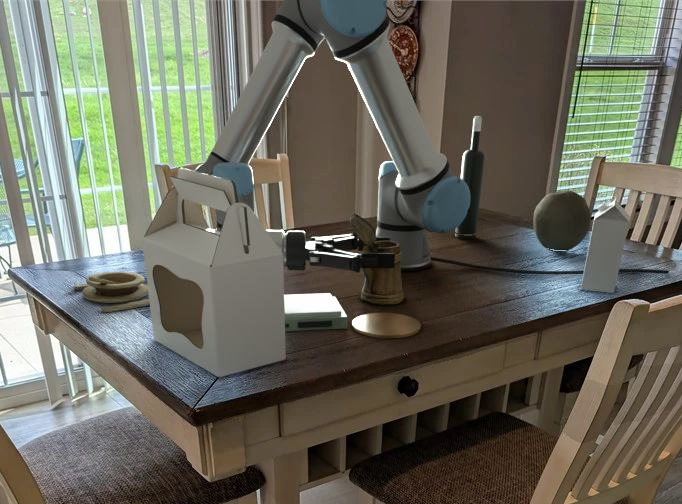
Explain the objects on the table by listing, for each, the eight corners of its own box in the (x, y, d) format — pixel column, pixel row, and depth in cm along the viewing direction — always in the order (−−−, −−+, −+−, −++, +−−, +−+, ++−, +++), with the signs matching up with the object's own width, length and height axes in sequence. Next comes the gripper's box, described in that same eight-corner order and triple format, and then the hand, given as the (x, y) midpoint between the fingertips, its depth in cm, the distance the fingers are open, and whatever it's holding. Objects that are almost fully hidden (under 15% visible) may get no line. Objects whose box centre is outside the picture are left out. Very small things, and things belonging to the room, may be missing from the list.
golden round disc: (410, 314, 144) (410, 311, 144) (429, 336, 133) (429, 333, 133) (345, 317, 142) (345, 314, 141) (360, 340, 131) (360, 336, 131)
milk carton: (614, 285, 164) (634, 196, 154) (613, 294, 159) (633, 201, 149) (582, 282, 166) (599, 193, 156) (580, 290, 161) (597, 198, 151)
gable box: (153, 339, 129) (131, 168, 114) (217, 325, 136) (205, 162, 121) (219, 379, 115) (205, 188, 100) (287, 360, 122) (283, 180, 107)
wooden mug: (336, 302, 150) (337, 210, 140) (381, 290, 158) (385, 202, 148) (367, 312, 144) (370, 217, 135) (412, 299, 152) (418, 208, 143)
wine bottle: (450, 236, 203) (462, 115, 187) (463, 233, 207) (476, 115, 191) (466, 240, 200) (479, 117, 184) (479, 237, 203) (493, 116, 187)
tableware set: (101, 313, 140) (96, 283, 137) (69, 288, 154) (64, 260, 151) (238, 291, 155) (236, 262, 152) (198, 270, 169) (196, 243, 165)
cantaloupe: (533, 244, 198) (542, 184, 190) (586, 249, 193) (598, 189, 185) (524, 255, 186) (533, 193, 178) (581, 261, 182) (593, 198, 174)
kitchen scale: (334, 307, 147) (334, 292, 145) (347, 328, 136) (348, 313, 134) (265, 310, 145) (265, 295, 143) (273, 332, 134) (272, 316, 132)
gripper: (289, 254, 158) (386, 255, 158) (283, 287, 137) (395, 288, 137) (288, 218, 154) (388, 219, 154) (282, 245, 133) (398, 247, 133)
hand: (392, 252), depth 146 cm, fingers open, 13 cm apart
